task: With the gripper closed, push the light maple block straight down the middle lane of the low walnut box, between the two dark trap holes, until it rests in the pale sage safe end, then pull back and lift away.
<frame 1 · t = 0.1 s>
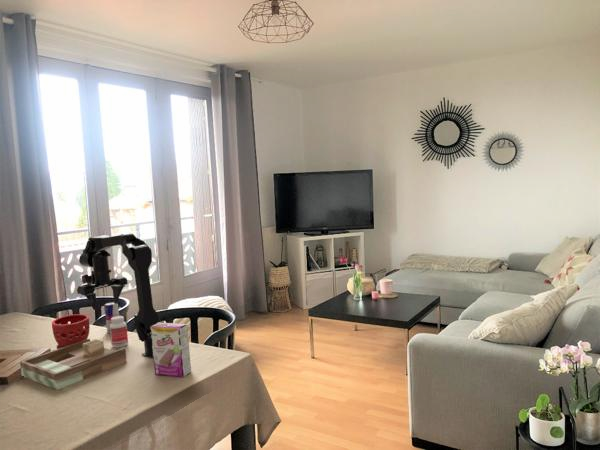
hand: (105, 306, 196), 15 cm above the table, tool pointing down, fingers open, 9 cm apart
pill bottle: (120, 345, 194), on the table
maple block: (94, 353, 177), point 3 cm above the table, touching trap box
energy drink: (114, 331, 213), on the table
candy bar box: (173, 374, 162), on the table
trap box: (75, 368, 171), on the table
plant pot: (73, 349, 193), on the table
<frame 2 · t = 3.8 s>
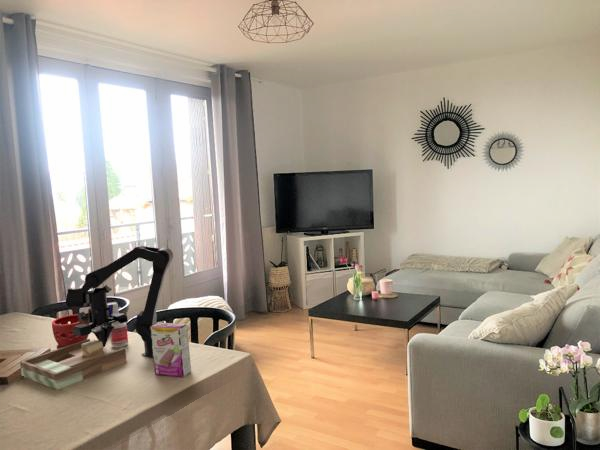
hand: (103, 346, 180), 4 cm above the table, tool pointing down, fingers closed
maple block: (93, 353, 177), point 3 cm above the table, touching gripper
everything else where it was.
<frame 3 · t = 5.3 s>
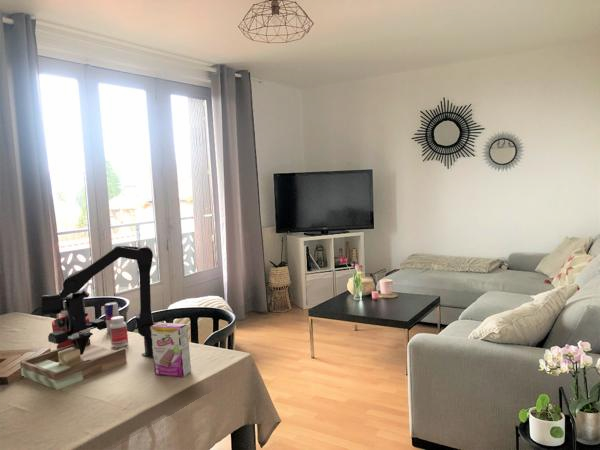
hand: (81, 354, 173), 4 cm above the table, tool pointing down, fingers closed
maple block: (70, 361, 170), point 3 cm above the table, touching gripper
everything else where it was.
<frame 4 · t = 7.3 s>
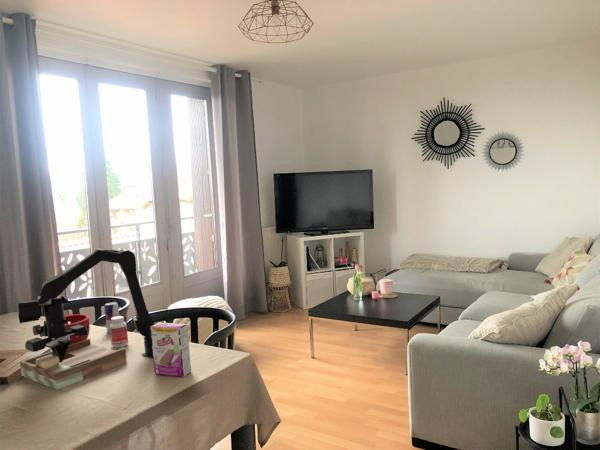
hand: (60, 362, 167), 4 cm above the table, tool pointing down, fingers closed
maple block: (48, 369, 164), point 3 cm above the table, touching gripper, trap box
everything else where it was.
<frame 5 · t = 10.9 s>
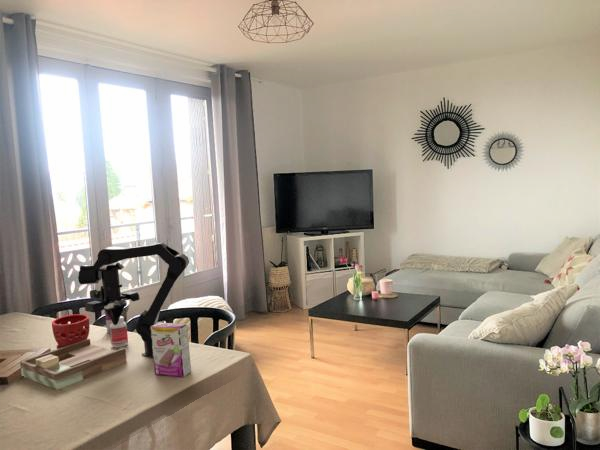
hand: (115, 324, 179), 12 cm above the table, tool pointing down, fingers closed
maple block: (48, 369, 164), point 3 cm above the table, touching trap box
everything else where it was.
at the end: maple block inside the target area (1.2 cm from its centre), point 3.0 cm above the table; maple block tilted 0°; maple block moved 16.5 cm from its start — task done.
